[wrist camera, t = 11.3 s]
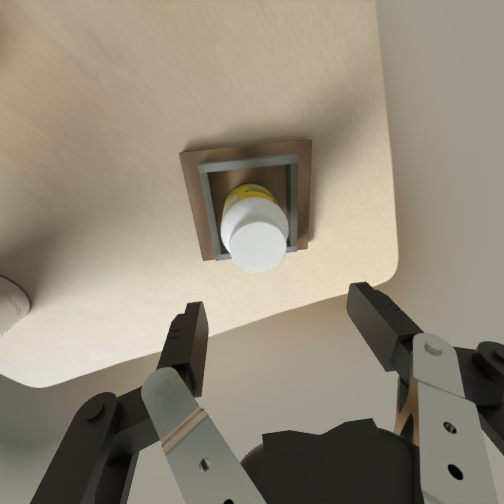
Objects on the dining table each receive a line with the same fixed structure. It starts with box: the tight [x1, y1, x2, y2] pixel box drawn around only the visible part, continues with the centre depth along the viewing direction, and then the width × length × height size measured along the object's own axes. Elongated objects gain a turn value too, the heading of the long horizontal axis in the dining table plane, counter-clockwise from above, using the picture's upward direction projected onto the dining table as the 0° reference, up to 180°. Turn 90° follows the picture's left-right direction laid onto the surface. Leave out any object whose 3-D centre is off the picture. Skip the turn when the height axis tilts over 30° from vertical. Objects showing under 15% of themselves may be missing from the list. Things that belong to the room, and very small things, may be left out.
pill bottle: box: [221, 183, 289, 273], centre depth 23 cm, size 6×6×12 cm
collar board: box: [179, 140, 312, 261], centre depth 27 cm, size 15×14×4 cm
